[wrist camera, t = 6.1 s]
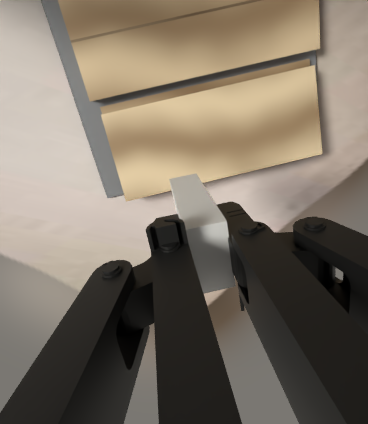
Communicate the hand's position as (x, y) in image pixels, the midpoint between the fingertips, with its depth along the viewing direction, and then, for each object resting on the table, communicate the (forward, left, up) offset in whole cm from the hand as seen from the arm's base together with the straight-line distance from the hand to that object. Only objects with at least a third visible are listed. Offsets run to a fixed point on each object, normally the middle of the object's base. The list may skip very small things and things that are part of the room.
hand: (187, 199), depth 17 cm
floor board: (-10, +4, -11) cm, 15 cm away
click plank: (-2, +4, -10) cm, 11 cm away
